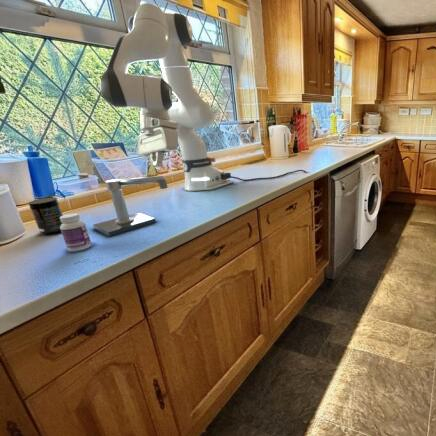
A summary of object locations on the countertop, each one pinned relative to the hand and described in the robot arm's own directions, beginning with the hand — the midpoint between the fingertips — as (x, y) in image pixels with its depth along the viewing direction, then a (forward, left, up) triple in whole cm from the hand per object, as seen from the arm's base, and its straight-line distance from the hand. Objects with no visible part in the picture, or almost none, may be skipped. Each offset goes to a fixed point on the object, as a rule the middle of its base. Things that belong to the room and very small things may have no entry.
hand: (157, 167), depth 103 cm
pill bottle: (+28, +6, -18) cm, 34 cm away
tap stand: (+13, -2, -17) cm, 22 cm away
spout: (+8, +2, -6) cm, 10 cm away
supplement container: (+28, -17, -18) cm, 38 cm away
